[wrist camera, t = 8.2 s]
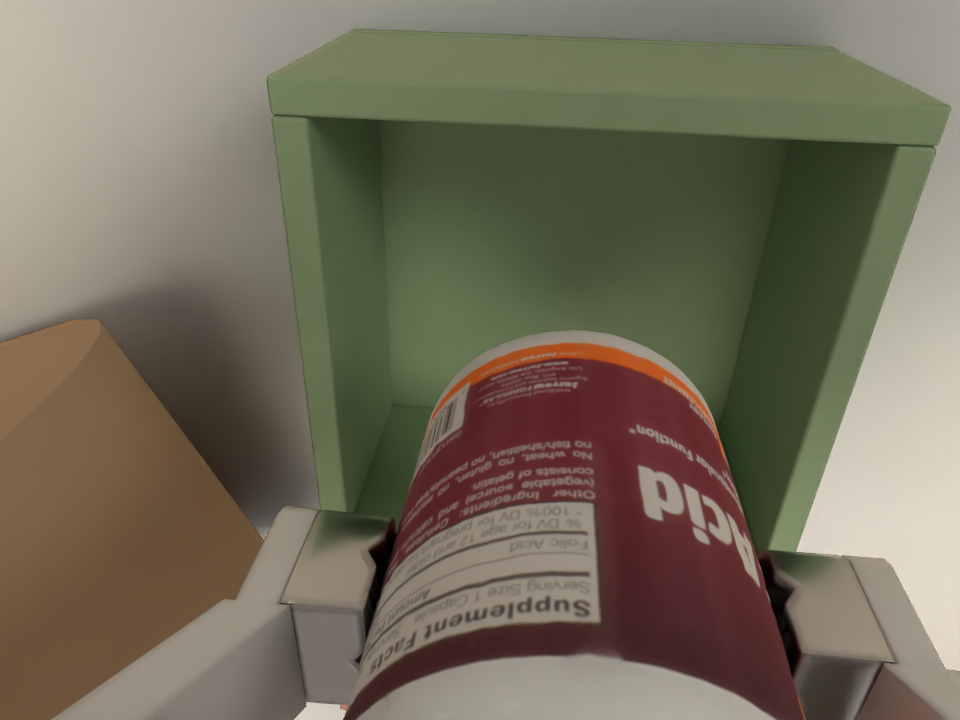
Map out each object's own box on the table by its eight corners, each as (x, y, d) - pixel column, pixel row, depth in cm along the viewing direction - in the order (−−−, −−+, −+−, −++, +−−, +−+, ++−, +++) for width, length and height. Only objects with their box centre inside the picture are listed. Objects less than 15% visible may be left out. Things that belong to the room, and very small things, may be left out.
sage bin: (352, 28, 16) (264, 75, 11) (834, 46, 15) (954, 105, 10) (376, 409, 21) (324, 549, 17) (733, 437, 20) (783, 591, 16)
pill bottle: (757, 498, 12) (1028, 1299, 5) (510, 577, 14) (452, 1275, 7) (647, 267, 10) (830, 1036, 3) (373, 388, 12) (88, 1089, 5)
